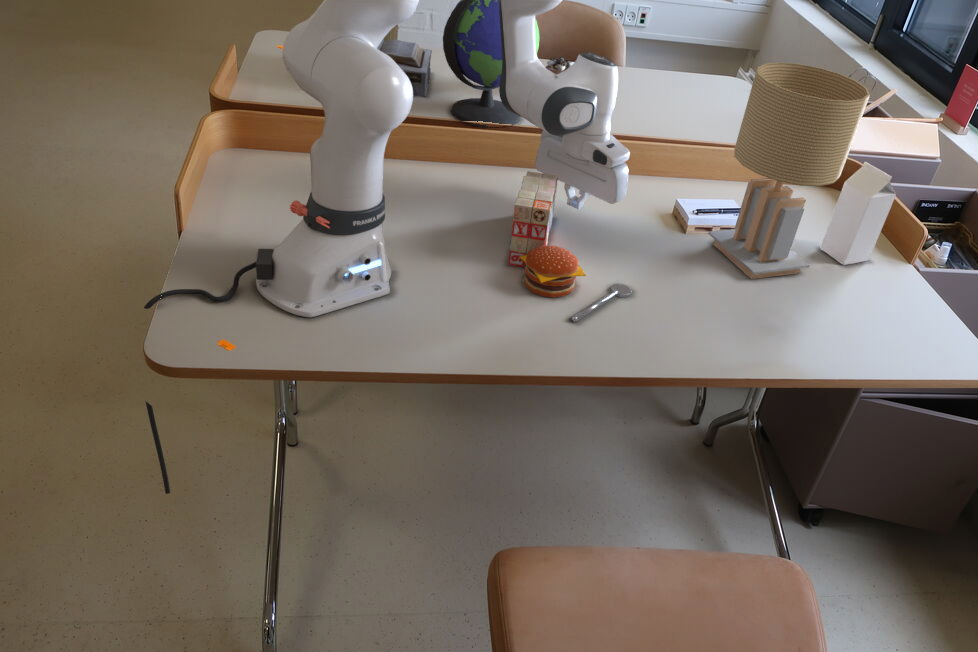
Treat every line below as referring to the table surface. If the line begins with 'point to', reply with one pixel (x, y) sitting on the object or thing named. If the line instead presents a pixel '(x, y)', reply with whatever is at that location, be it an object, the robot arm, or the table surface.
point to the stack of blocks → (532, 215)
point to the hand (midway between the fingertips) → (574, 206)
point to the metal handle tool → (605, 300)
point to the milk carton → (859, 215)
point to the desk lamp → (788, 159)
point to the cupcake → (558, 65)
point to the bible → (410, 62)
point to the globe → (478, 59)
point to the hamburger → (551, 271)
